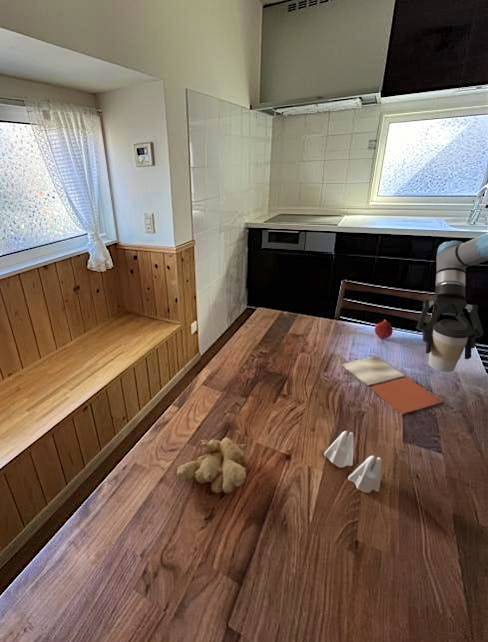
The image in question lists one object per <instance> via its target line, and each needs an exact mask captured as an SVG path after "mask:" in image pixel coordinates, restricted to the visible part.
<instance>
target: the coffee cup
mask: <svg viewBox="0 0 488 642" xmlns="http://www.w3.org/2000/svg"><path fill="white" fill-rule="evenodd" d="M432 329H433V330H432V342H431V352H430V353H429V354H428V355H429V356H428V361H427V363H428V366H429V367H431V368H432V369H434V370H436V371H439V372H442V373H451V372H454V371H455V369H456V367H457V365H458V362H459V360H460V359H461V356H462V355H463V352H464V351H465V346H466V343H467V339H468V337H469V336H470V330H469V329H468V328H467V325H466V324H465V323H464V322H459V321H458V320H454V319H448V318H447V319H440V320H439V321H437V322H434V324H433V325H432Z"/></svg>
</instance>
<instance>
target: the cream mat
mask: <svg viewBox="0 0 488 642" xmlns="http://www.w3.org/2000/svg"><path fill="white" fill-rule="evenodd" d="M341 366H342V367H343V368H344V369H346V370H347V371H348V372H350V373H351V374H352V376H354V377H356V378H357V379H358V380H359V381H360V382H361V383H363V384H364V385H366V386H367V387H371V386H375V385H379V384H383V383H387V382H390V381H394V380H398V379H402V378H406V377H405V374H403V373H402V372H400V371H399V370H397V369H396V368H394V367H393V366H391V365H390V364H389V363H387V362H386V361H384V360H383V359H381V358H380V357H378V356H377V355H374V356H370V357H366V358H362V359H358V360H353V361H350V362H344V363H341Z"/></svg>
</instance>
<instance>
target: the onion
mask: <svg viewBox="0 0 488 642" xmlns="http://www.w3.org/2000/svg"><path fill="white" fill-rule="evenodd" d="M393 332H394V329H393V327H392V325H391V323H389V322H388V321H387V320H386V319H383V321H381V322H378V323H377V324H376V325H375V327H374V333H375V335H376V336H377V337H378V338H379V339H381V340H385V339H388V338H390V337H391V336H392V335H393Z"/></svg>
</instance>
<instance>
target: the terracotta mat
mask: <svg viewBox="0 0 488 642" xmlns="http://www.w3.org/2000/svg"><path fill="white" fill-rule="evenodd" d="M369 388H370V390H372V391H373V392H374V393H375V394H376V395H378V396H379V397H380V398H382V399H383V400H384V401H385V402H386V403H388V404H389V405H390V406H391V407H392V408H394V409H395V410H397V412H399V413H400V414H401V415H407V414H409V413H413V412H416V411H421V410H423V409H427V408H430V407H435V406H438V405H441V404H444V401H443V400H442V399H440V398H439V397H437V396H436V395H434V394H432V393H431V392H429V391H428V390H427V389H425V388H424V387H422V386H421V385H419V384H418V383H417V382H415V381H413V380H412V379H411V378H409V377H403V378H399V379H395V380H391V381H387V382H384V383H380V384H376V385H372V386H369Z"/></svg>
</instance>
